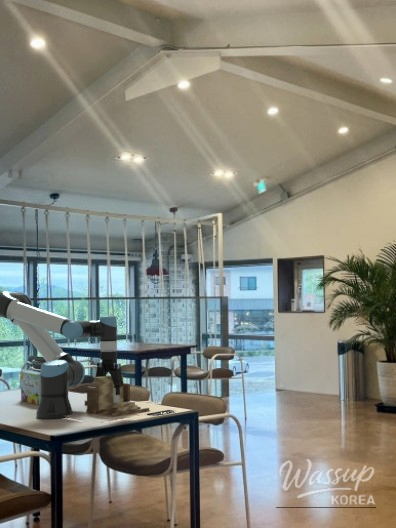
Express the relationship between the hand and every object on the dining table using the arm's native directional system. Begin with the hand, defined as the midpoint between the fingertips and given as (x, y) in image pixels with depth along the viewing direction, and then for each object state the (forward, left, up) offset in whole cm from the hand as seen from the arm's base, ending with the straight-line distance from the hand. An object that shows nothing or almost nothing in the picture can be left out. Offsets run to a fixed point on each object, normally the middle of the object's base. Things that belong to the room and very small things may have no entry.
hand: (108, 401), depth 290 cm
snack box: (-3, +56, -5) cm, 56 cm away
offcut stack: (0, -12, -5) cm, 13 cm away
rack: (0, -6, -5) cm, 8 cm away
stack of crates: (+8, +22, -6) cm, 24 cm away
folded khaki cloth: (0, 0, -4) cm, 4 cm away
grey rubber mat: (+13, -17, -5) cm, 22 cm away
